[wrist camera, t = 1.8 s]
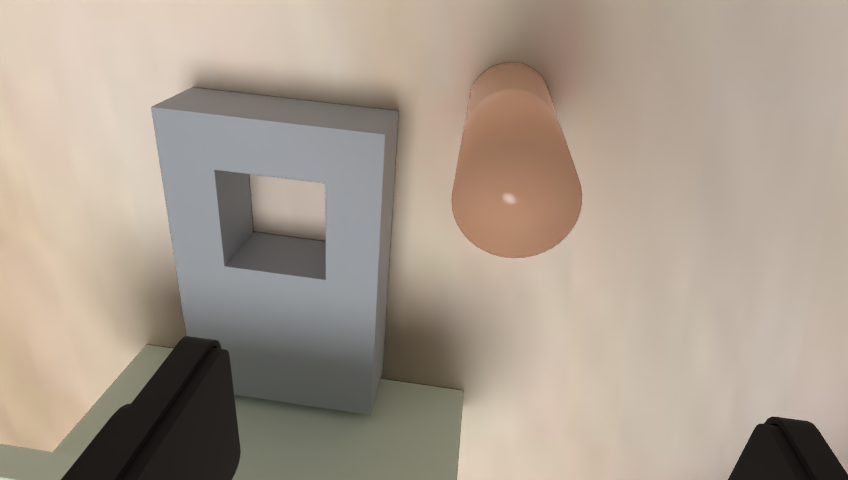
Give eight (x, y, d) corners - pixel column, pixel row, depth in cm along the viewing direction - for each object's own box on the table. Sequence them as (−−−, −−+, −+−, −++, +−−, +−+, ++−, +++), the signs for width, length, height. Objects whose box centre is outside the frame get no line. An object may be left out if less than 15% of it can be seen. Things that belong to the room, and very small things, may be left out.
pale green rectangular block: (473, 327, 34) (459, 552, 22) (461, 407, 38) (442, 643, 25) (133, 280, 36) (-66, 466, 23) (149, 361, 39) (-18, 562, 26)
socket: (398, 110, 29) (385, 134, 25) (382, 370, 37) (370, 415, 34) (192, 87, 29) (150, 107, 26) (222, 347, 38) (194, 388, 34)
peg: (556, 67, 27) (595, 148, 16) (541, 146, 29) (567, 265, 18) (473, 58, 27) (459, 132, 16) (464, 137, 29) (445, 249, 18)
